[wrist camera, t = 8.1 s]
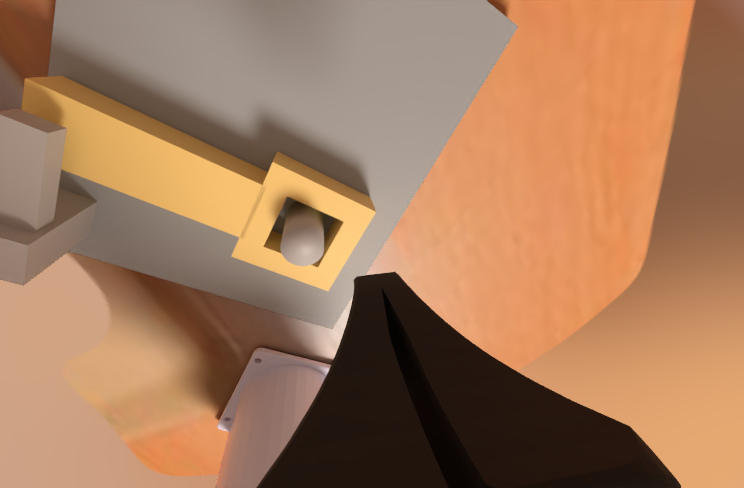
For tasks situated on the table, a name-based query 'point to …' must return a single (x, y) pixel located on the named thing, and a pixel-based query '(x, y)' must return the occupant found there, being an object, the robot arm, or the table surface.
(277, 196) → the link
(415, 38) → the pintle board
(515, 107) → the table surface
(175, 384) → the table surface
